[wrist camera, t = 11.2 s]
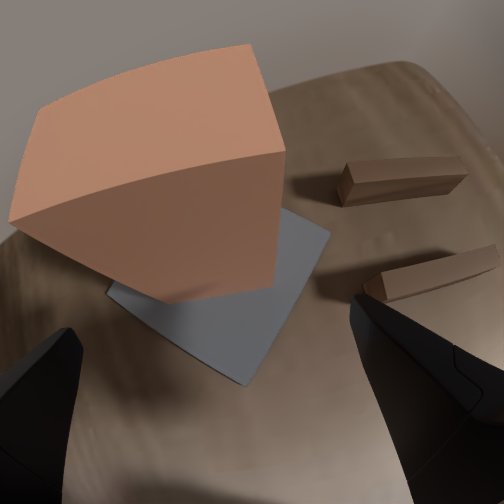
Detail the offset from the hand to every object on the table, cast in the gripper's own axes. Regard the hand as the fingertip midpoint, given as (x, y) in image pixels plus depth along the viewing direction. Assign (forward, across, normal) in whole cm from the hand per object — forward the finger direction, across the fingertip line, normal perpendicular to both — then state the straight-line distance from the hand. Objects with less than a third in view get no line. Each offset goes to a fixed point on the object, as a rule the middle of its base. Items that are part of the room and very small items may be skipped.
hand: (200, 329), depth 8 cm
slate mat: (+8, 0, +3) cm, 9 cm away
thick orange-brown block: (+8, 0, +2) cm, 9 cm away
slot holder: (+9, -12, +2) cm, 15 cm away
